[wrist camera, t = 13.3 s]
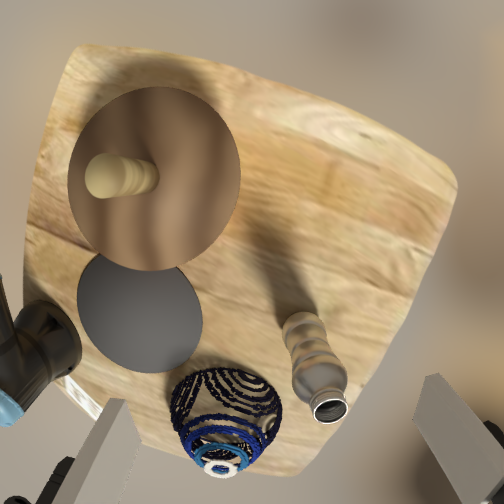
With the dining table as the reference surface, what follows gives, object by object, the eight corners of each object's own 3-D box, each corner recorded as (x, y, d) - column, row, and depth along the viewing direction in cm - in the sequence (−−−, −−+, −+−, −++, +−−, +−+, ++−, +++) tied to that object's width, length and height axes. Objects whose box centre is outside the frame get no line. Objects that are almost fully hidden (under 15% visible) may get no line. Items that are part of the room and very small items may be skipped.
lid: (90, 279, 34) (41, 311, 24) (64, 118, 30) (10, 103, 19) (254, 253, 34) (257, 285, 23) (225, 72, 29) (215, 26, 19)
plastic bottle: (298, 351, 47) (323, 441, 27) (271, 325, 45) (284, 413, 26) (330, 326, 46) (373, 408, 26) (303, 298, 45) (338, 375, 25)
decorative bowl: (158, 421, 50) (140, 474, 36) (194, 349, 47) (176, 406, 32) (249, 454, 52) (249, 508, 38) (300, 391, 49) (314, 450, 35)
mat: (95, 367, 47) (94, 369, 47) (67, 251, 43) (66, 252, 42) (210, 373, 47) (210, 374, 47) (194, 242, 43) (193, 243, 42)
